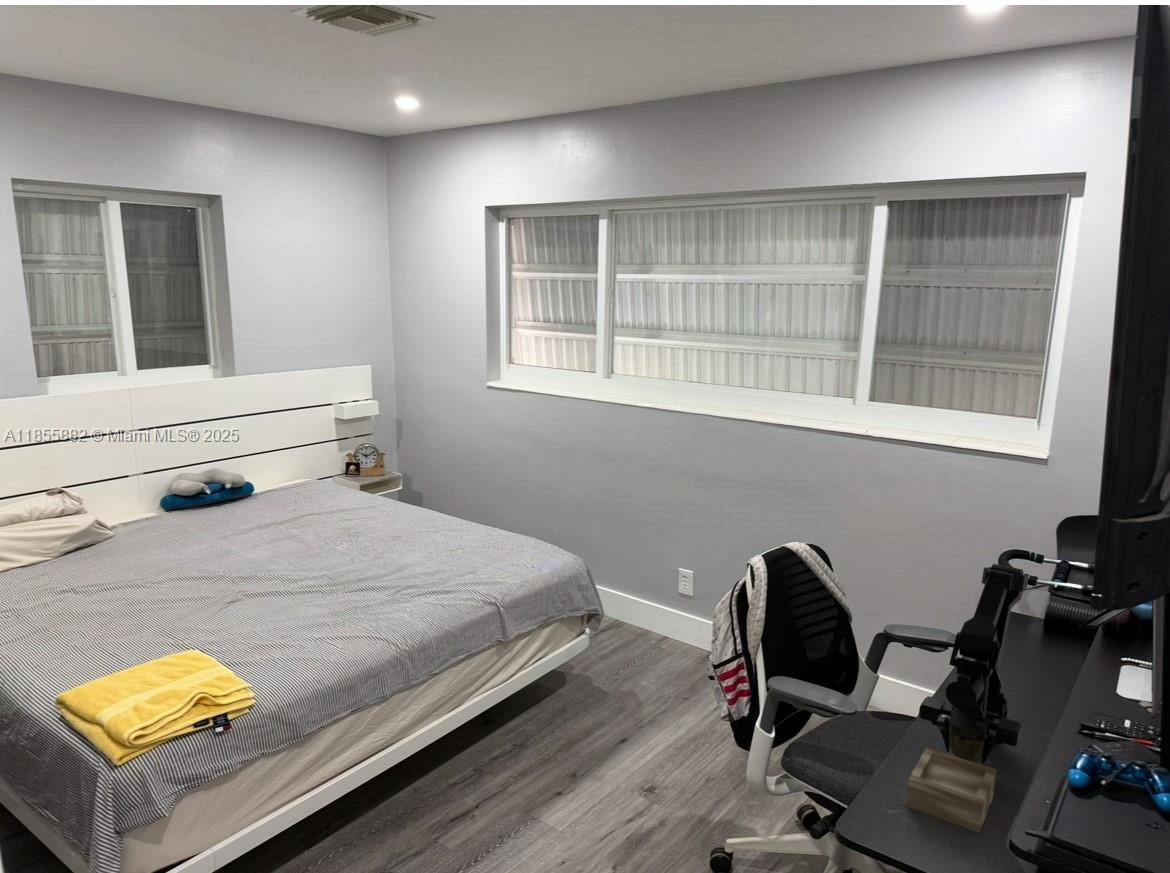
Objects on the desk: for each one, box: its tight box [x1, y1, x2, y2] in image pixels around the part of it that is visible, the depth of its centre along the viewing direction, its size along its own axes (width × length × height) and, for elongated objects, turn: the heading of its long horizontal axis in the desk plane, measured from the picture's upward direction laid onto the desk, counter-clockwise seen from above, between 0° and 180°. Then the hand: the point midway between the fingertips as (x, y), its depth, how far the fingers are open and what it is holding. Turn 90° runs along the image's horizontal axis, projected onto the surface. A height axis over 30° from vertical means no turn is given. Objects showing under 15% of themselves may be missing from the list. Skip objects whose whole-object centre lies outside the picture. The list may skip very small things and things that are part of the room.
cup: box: [949, 732, 988, 763], centre depth 170 cm, size 8×7×8 cm
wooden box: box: [906, 746, 997, 834], centre depth 158 cm, size 13×13×6 cm
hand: (965, 756), depth 170 cm, fingers closed on cup, 6 cm apart
